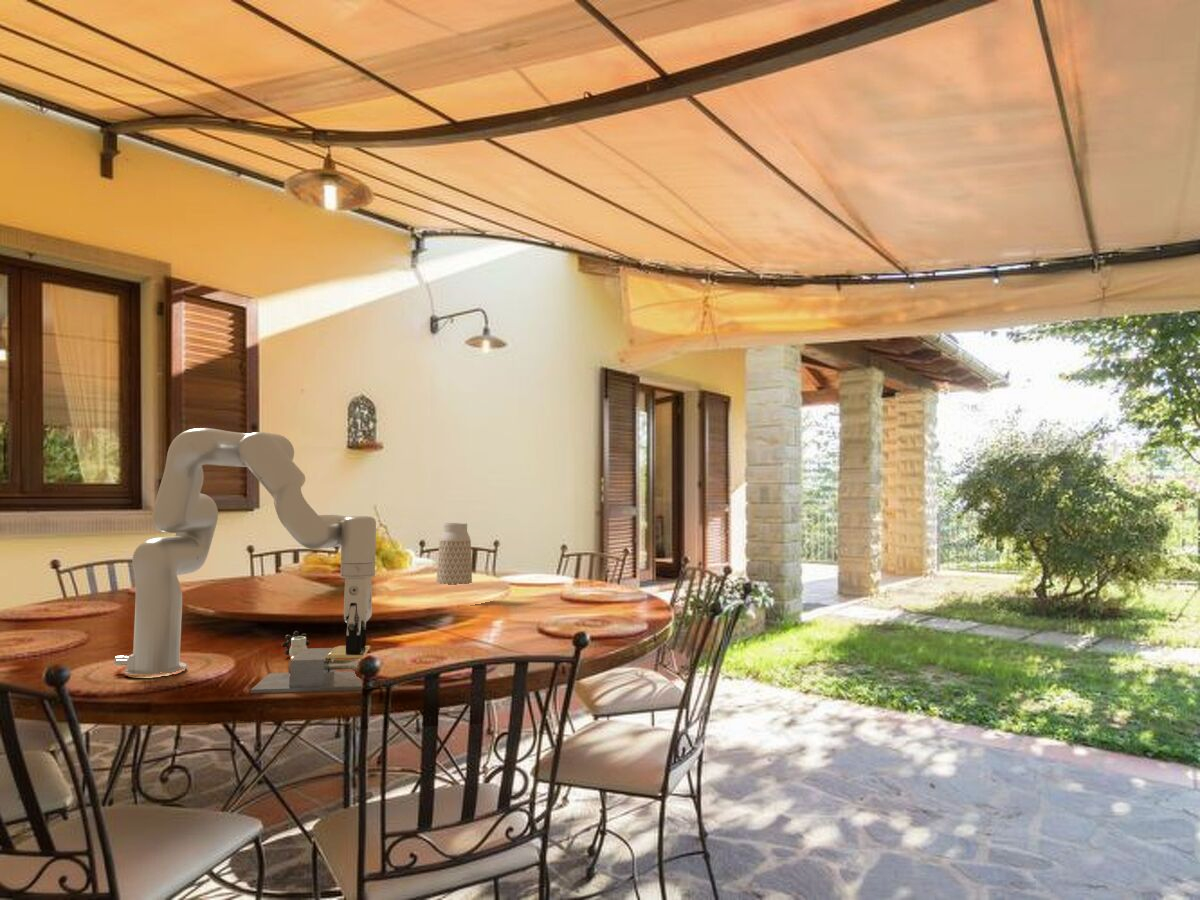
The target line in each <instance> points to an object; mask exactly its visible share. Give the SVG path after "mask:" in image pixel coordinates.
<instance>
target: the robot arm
mask: <svg viewBox="0 0 1200 900" xmlns="http://www.w3.org/2000/svg"><path fill="white" fill-rule="evenodd" d="M294 457H295V448H294V446H293V444H292V442H291V441H290V439H288V438H287V437H285V436H283V435H282V434H281V435H280V434H276V433H270V432H262V431H259V432H258V431H257V432H251V433H248V432H246V433H245V432H238V431H229V430H223V429H216V428H209V427H203V428H202V427H200V428H198V427H197V428H191V429H188V430H185V431H183V432H181V433H179V434H178V435H176V437H174V438H173V440H172V441H171V443H170V445H169V447H168V451H167V455H166V461H165V467H164V472H163V474H162V478H161V482H160V485H159V488H158V492H157V495H156V499H155V502H154V504H153V505H154V506H153V509H152V513H151V522H152V525H153V527H154V528H155V529H156V530H157V531H159V532H162V533H167V534H168V533H169V534H175V536H173V535H172V536H161V537H154V538H149V539H147V540H145V541H143V542H141V543H140V544H139V545H138V546H137V547H136V548H135V550H134V552H133V554H132V560H131V562H132V563H131V564H132V571H133V575H134V582H135V586H134V587H135V597H134V598H135V599H134V601H135V602H134V605H135V606H134V607H135V608H134V609H135V610H134V626H133V627H134V628H133V649H132V653H131V654H130V655H116V656H115V658H114V660H113V663H114V665H115V667H116V666H126V667H127V668H126V669H125V670H124V671H123V674H124V673H126V674H129V675H152V674H162V673H172V672H176V671H179V670H182V669H184V668H186V667H187V668H188V664H187V663H185V662H182V661H181V659H180V657H181V642H182V641H181V638H182V637H181V636H182V617H183V613H182V612H183V591H182V586H181V583H180V580H179V577H178V576H180V575H188V574H192V573H194V572H197V571H198V570H200V569H201V568H202V566H203V565H204V564H205V562H206V560H207V558H208V555H209V552H210V549H211V545H212V541H213V537H214V533H215V530H216V527H217V523H218V519H219V511H218V506H217V504H216V502H215V501H214V499H213V498H212V497H211V496H209V495H207V494H205V493H201V491H202V488H203V484H204V480H205V476H204V475H205V474H204V469H203V466H205V465H211V466H212V465H213V466H222V467H224V466H225V467H226V466H227V467H238V468H239V467H241V468H247V469H248V470H249V471H250V472H251V474H253V476H254V477H255V478H256V480H258V481H259V483H260V484H261V485H262V486H263V488H264V489H266V490H267V492H268V493H269V494H270V496H271V498H272V499H273V505H274V508H275V512H276V514H277V518H278V520H279V521H280V523H281V524H282V525H283V527H284V528H285V530H286V531H287V532H288V533H289V534H290V535H291V536H292V538H293V539H294V540H295V541H296V542H297V543H298V544H299V545H301V546H302V547H304V548H305V549H308V550H321V549H329V548H334V547H340V575H339V576H340V578H341V579H345V580H344V592H343V593H344V595H343V596H344V597H343V620H344V622H345V623H346V625H347V626H346V635H345V646H346V654H360V653H361V647H365V646H367V629H366V628H367V622H368V621H369V620H370V618H371V617H372V615H373V592H372V591H373V590H372V578H375V577H376V554H377V553H376V549H377V547H376V546H377V544H376V543H377V540H376V539H377V522H376V519H375V518H374V517H373V516H368V515H367V516H365V515H364V516H363V515H353V516H345V515H338V514H318V513H317V512H316V511H315V510H314V509H313V508H312V507H311V505H310V504H309V503H308V502H307V501H306V499H305V497H304V495H303V492H302V487H303V486H304V485H305V482H306V475H305V474H304V473H303V471H302V470H301V469H300V467H298V466H297V464H296V463H295V462H294V461H293V460H294ZM160 672H162V673H160Z"/></svg>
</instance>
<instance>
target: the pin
mask: <svg viewBox="0 0 1200 900" xmlns="http://www.w3.org/2000/svg"><path fill="white" fill-rule="evenodd" d="M295 656H296V655H295ZM295 656H291V657H290V656H289V657H290V658H289V661H288V669H287V670H288V672H287V673H289V676H290V660H291V659H292V658H293V657H295ZM357 664H358V665H359V658H338V659H335V660H328V670H334V671H337V670H339V671H340V670H342V671H343V670H357V669H358V667H357ZM356 668H357V669H356Z"/></svg>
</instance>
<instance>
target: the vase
mask: <svg viewBox="0 0 1200 900" xmlns="http://www.w3.org/2000/svg"><path fill="white" fill-rule="evenodd" d="M471 541H472V540H471V537H470V535H469V533H468V523H467V522H466V523H465V522H445V523H443V532H442V534H441V536H440V539H439V545H438V555H437V556H438V557H437V568H436V569H437V570H436V581H435V582H436V583H438V584H448V585H457V584H469V583H472V584H473V576H472V575H473V574H472V573H473V571H472V544H471V543H472V542H471Z"/></svg>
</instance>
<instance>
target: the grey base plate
mask: <svg viewBox="0 0 1200 900" xmlns="http://www.w3.org/2000/svg"><path fill="white" fill-rule="evenodd" d="M334 648H335V647H320V648H319V647H318V648H307V649H302V650H301V651H300V652H299V653H298V654H297V655H296V656H295V657H293V658H292V659H291V660H290V659H289V660H290V676H289V672H280V673H279V672H278V673H277V672H276V673H275V672H273V673H271V672H270V673H268V674H267V675H266V676H265V677H263V678H262V680H259V682H258V683H257V684H256V685H254V686H253V687H252V688H251V689H250V694H276V693H277V694H279V693H281V694H282V693H304V692H305V693H306V692H307V693H308V692H309V693H311V692H312V693H313V692H335V691H336V692H337V691H338V692H340V691H363V690H362V681H361V679H360V678H359V677H357V676H356V674H355V671H356V670H352V671H351V670H350V671H349V670H348V671H347V670H346V671H345V670H344V671H343V670H342V671H340V670H339V671H335V670H328V660H326V656H327V655H328V654H329V653H330V652H331V651H332V650H333V649H334ZM329 660H336V658H330V659H329Z"/></svg>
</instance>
